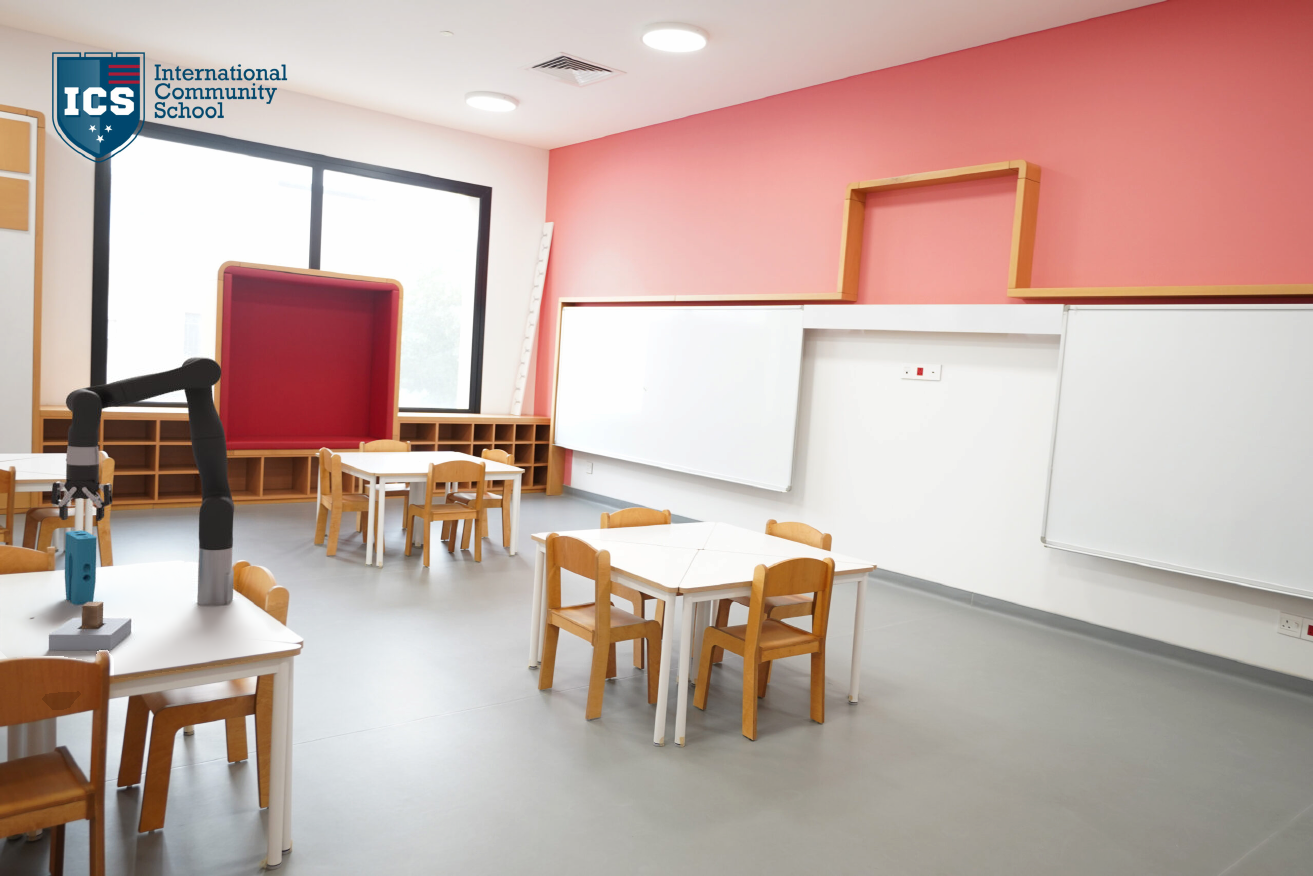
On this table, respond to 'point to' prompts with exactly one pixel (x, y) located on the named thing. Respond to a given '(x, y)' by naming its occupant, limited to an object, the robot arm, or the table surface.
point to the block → (80, 566)
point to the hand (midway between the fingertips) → (81, 520)
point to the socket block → (89, 635)
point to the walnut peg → (92, 615)
